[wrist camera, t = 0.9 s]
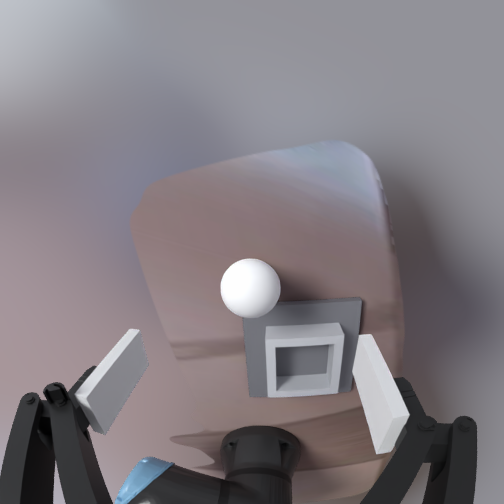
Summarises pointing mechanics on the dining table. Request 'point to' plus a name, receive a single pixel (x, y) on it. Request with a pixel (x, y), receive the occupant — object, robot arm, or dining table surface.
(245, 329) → the lamp socket
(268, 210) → the dining table surface
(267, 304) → the lightbulb
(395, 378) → the robot arm
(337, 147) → the dining table surface
